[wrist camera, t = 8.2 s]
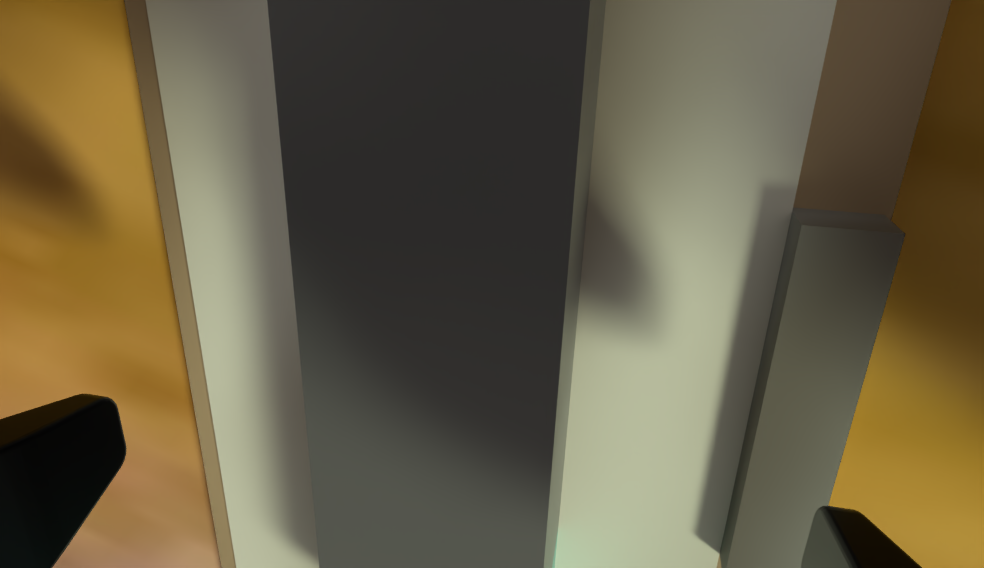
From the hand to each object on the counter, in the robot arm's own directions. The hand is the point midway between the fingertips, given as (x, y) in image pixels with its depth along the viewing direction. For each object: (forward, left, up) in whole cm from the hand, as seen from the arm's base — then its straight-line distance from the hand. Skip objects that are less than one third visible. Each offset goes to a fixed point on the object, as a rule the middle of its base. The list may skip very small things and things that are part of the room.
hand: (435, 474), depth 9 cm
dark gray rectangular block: (0, 0, -3) cm, 3 cm away
